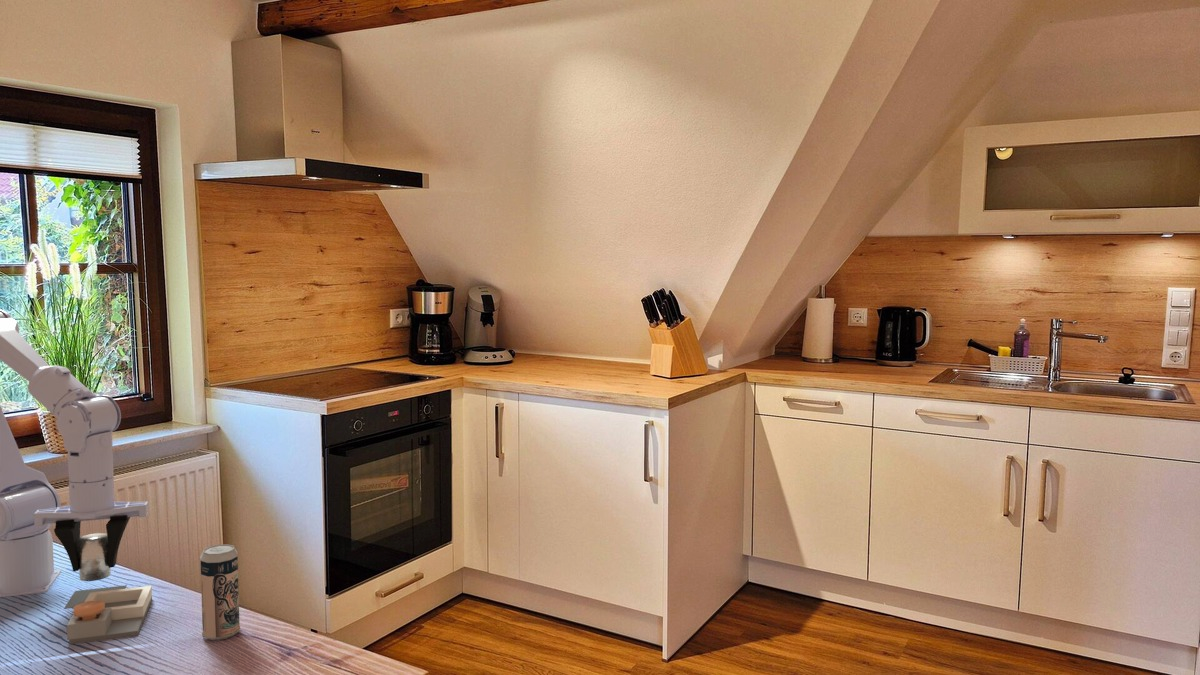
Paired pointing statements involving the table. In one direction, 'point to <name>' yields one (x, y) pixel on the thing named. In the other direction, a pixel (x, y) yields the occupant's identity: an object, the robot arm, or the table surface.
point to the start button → (89, 609)
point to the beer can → (220, 592)
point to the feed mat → (83, 594)
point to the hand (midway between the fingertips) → (94, 567)
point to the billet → (93, 557)
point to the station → (112, 615)
